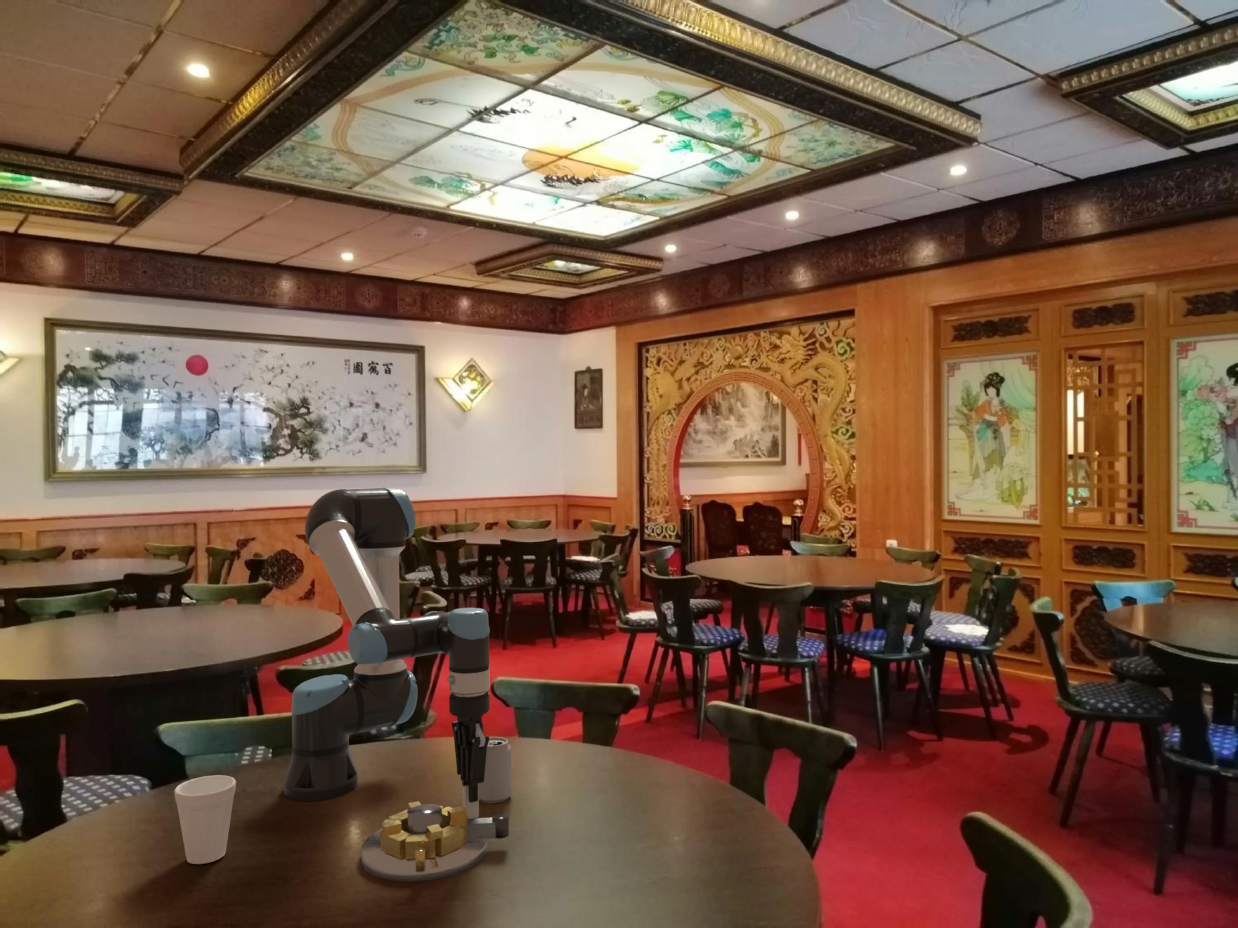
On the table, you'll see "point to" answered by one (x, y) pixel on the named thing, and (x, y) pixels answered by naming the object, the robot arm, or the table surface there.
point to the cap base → (409, 865)
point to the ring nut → (439, 832)
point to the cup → (205, 816)
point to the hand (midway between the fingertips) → (470, 816)
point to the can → (497, 772)
